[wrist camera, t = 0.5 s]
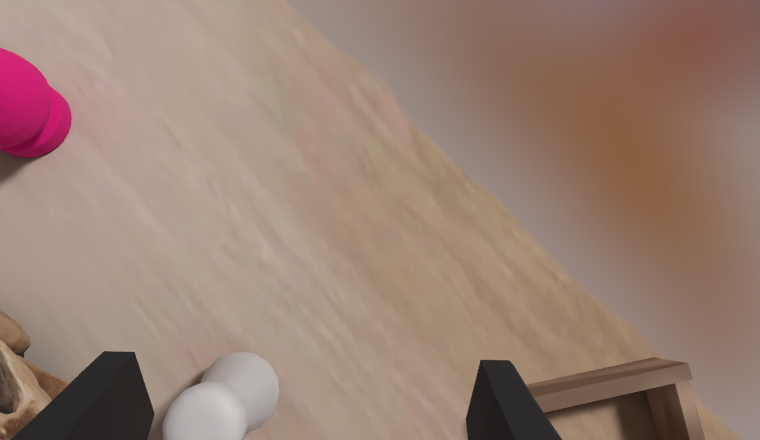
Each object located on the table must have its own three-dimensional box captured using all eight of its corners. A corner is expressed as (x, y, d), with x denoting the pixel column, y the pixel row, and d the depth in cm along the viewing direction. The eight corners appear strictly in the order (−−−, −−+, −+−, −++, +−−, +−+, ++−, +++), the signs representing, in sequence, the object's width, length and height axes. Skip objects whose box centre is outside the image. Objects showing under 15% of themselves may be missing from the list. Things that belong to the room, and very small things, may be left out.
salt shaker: (266, 436, 37) (232, 506, 24) (195, 413, 36) (122, 473, 24) (292, 361, 38) (272, 390, 25) (223, 338, 38) (168, 357, 25)
